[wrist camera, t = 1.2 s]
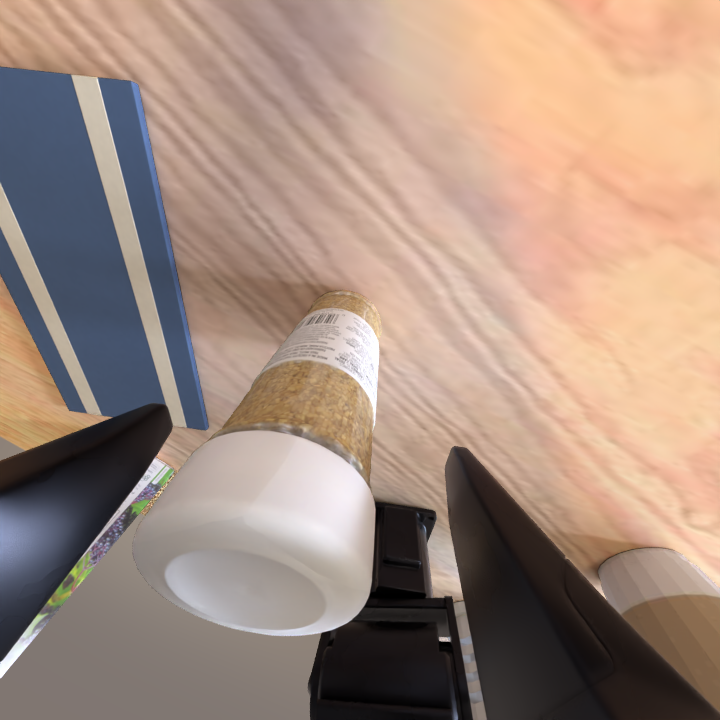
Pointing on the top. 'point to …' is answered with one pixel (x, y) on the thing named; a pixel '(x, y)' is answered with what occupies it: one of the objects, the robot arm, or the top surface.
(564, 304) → the top surface
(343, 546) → the sprinkles bottle
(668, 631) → the coffee cup
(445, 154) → the top surface
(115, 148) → the tea towel
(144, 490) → the syrup box
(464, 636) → the french press
